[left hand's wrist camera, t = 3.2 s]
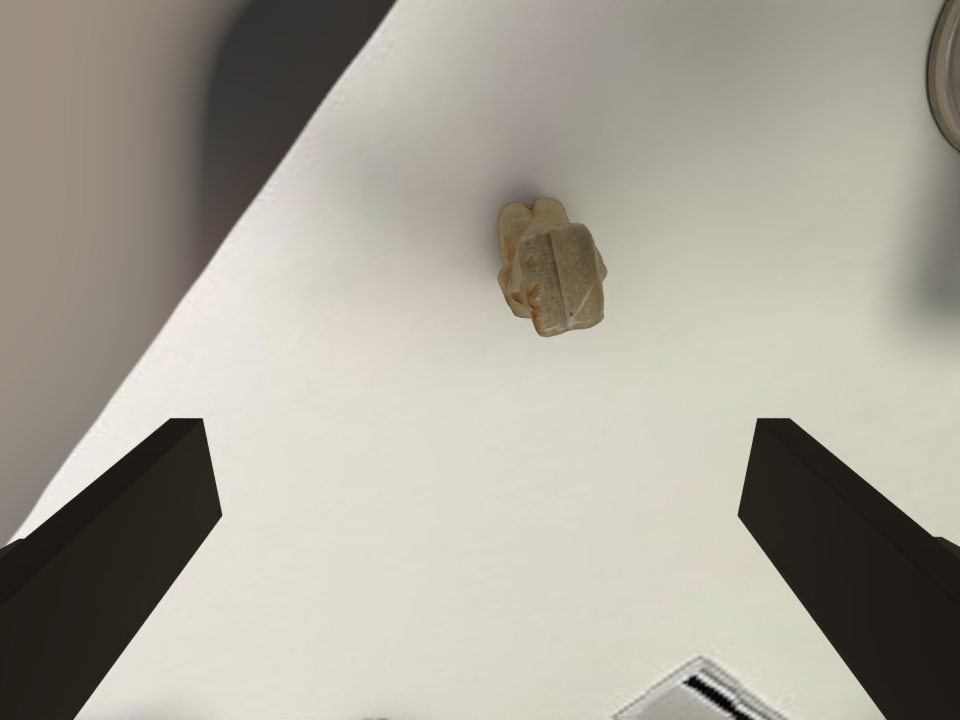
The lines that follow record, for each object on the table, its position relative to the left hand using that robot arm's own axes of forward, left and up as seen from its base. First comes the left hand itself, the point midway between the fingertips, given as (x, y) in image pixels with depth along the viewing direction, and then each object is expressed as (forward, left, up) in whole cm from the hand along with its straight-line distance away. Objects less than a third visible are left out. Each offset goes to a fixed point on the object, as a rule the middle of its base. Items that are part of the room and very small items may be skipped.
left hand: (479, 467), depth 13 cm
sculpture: (-3, +2, -27) cm, 27 cm away
